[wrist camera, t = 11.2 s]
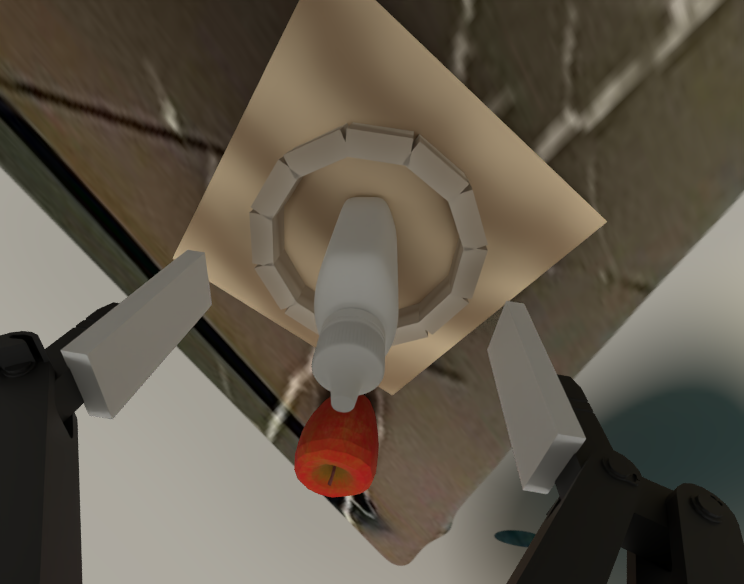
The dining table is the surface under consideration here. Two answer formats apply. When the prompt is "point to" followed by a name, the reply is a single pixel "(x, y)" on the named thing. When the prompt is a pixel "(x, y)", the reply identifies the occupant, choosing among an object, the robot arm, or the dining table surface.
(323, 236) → the socket stand
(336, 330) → the eye dropper bottle
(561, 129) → the dining table surface
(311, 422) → the apple
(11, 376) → the robot arm
